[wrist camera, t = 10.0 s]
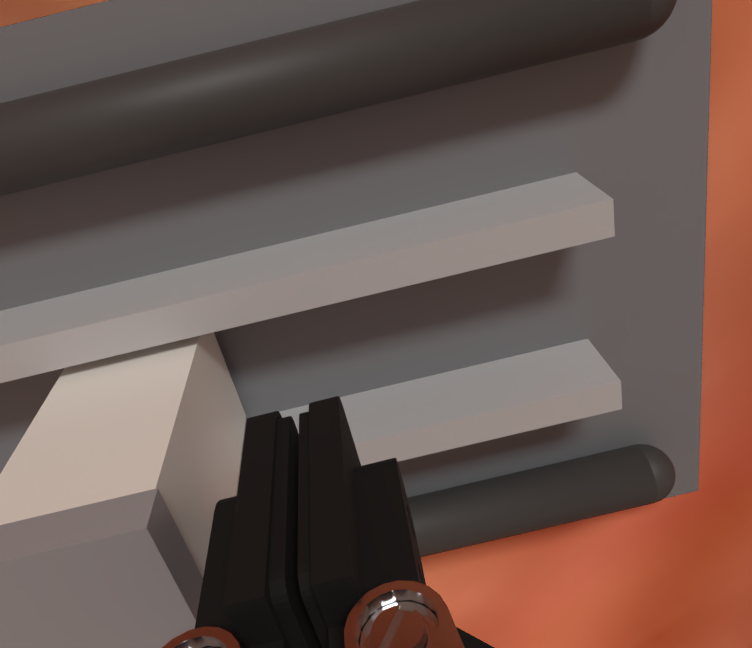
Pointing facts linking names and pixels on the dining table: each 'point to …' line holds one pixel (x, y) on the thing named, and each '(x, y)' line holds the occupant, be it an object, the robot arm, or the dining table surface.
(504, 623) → the dining table surface
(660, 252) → the breaker panel
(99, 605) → the knob
